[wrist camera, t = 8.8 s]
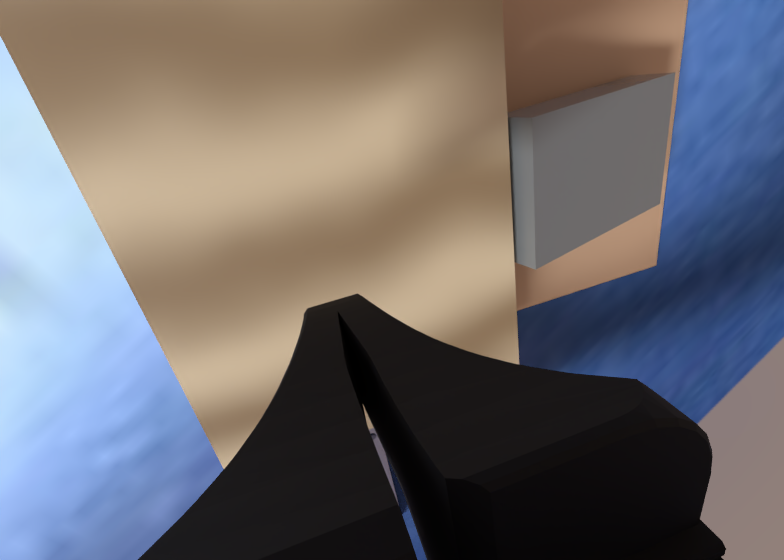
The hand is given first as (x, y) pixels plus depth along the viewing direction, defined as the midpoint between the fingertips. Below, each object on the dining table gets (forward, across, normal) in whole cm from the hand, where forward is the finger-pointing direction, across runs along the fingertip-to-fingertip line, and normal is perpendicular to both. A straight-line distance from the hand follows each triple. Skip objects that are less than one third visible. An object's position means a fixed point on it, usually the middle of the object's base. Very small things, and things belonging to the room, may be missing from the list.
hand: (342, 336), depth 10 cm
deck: (+10, -1, 0) cm, 10 cm away
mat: (+10, -14, 0) cm, 17 cm away
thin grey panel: (+8, -12, 0) cm, 15 cm away
